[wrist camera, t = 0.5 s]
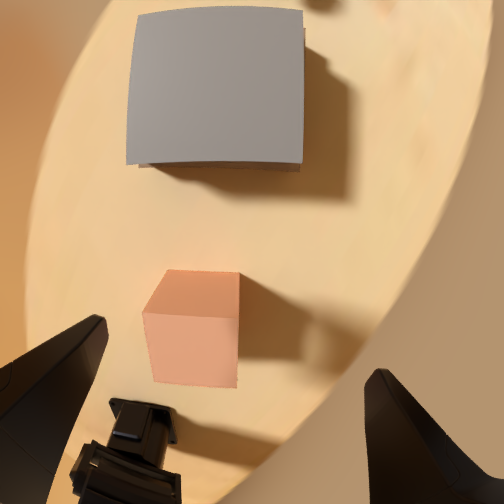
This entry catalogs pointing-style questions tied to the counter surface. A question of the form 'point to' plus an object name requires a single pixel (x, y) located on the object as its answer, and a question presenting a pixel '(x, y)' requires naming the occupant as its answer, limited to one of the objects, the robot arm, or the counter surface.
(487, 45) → the counter surface
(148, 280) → the counter surface
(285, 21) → the tower top
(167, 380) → the block
